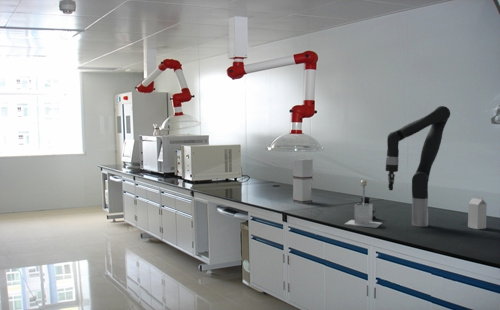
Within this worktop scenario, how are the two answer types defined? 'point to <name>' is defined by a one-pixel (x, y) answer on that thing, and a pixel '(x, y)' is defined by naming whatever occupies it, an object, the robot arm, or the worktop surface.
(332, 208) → the worktop surface
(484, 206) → the milk carton
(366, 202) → the scope
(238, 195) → the worktop surface
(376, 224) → the tray
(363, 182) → the plunger
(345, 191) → the worktop surface
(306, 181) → the grey banded column
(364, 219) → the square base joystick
